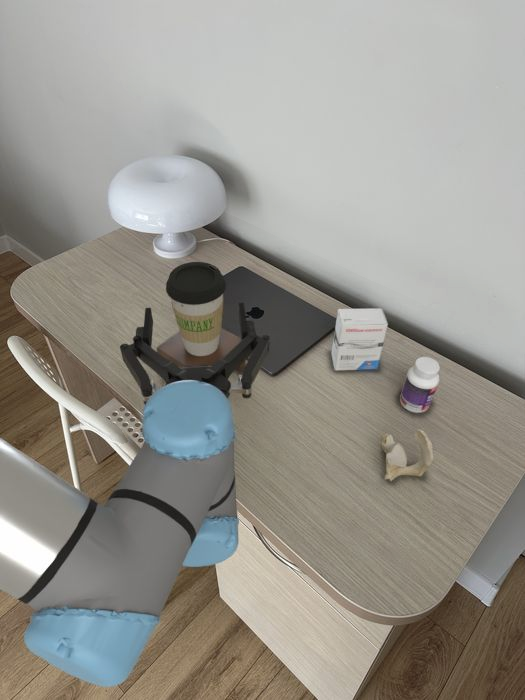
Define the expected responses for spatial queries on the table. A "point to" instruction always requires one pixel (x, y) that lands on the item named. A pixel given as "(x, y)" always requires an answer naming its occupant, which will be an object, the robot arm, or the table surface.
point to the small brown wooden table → (181, 357)
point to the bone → (398, 458)
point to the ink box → (358, 338)
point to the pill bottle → (420, 385)
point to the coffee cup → (197, 305)
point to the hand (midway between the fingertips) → (195, 312)
